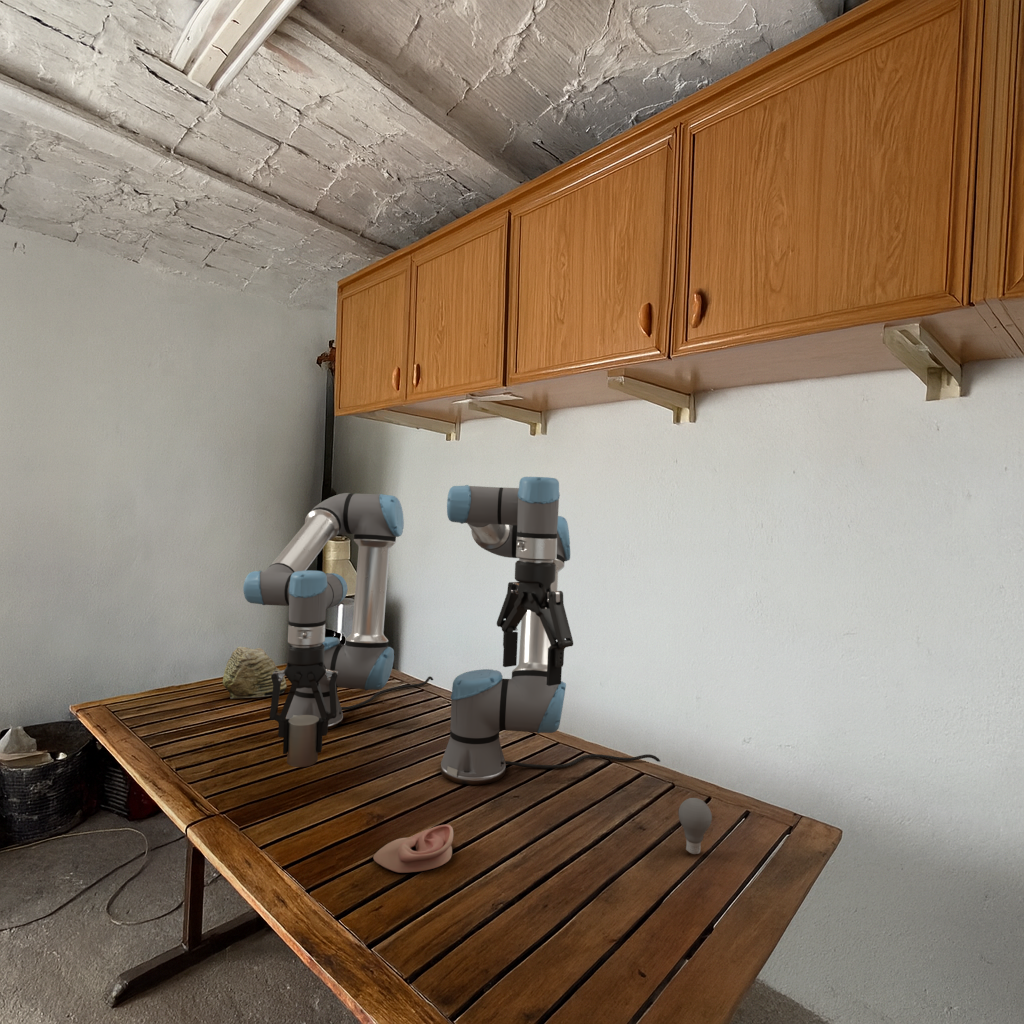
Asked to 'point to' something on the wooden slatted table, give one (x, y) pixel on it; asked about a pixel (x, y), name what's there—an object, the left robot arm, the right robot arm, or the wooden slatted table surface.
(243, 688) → the fossil
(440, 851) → the anatomical model
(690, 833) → the light bulb
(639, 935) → the wooden slatted table surface
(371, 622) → the left robot arm
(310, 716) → the can
